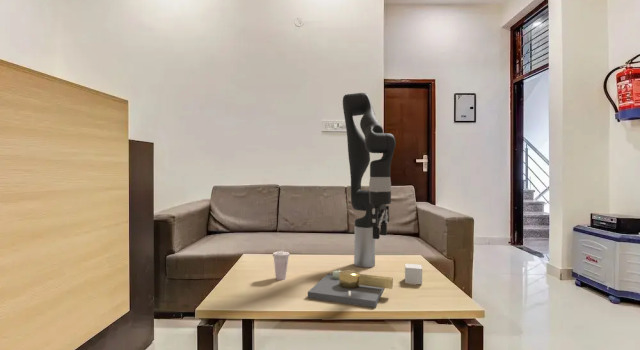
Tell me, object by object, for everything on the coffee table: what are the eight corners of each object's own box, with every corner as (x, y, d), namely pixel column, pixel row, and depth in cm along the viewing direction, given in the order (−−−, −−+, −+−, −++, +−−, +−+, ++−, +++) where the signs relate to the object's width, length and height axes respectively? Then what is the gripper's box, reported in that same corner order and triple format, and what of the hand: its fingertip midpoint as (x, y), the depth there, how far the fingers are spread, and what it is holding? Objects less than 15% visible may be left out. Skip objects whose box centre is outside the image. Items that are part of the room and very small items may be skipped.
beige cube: (422, 285, 123) (422, 268, 122) (405, 283, 124) (405, 267, 124) (420, 280, 128) (421, 264, 128) (404, 278, 130) (405, 263, 130)
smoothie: (286, 281, 124) (286, 244, 124) (269, 280, 125) (270, 243, 125) (291, 276, 130) (291, 240, 130) (275, 275, 132) (276, 239, 132)
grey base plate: (328, 278, 129) (328, 266, 129) (386, 285, 122) (386, 272, 122) (307, 297, 108) (308, 283, 108) (375, 307, 101) (375, 292, 101)
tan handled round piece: (336, 286, 113) (336, 274, 113) (342, 280, 119) (342, 269, 119) (390, 293, 107) (390, 281, 107) (393, 286, 113) (393, 275, 113)
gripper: (376, 189, 124) (376, 233, 124) (362, 190, 112) (362, 239, 112) (396, 189, 121) (396, 234, 121) (384, 191, 108) (384, 241, 108)
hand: (379, 236), depth 116 cm, fingers open, 8 cm apart
